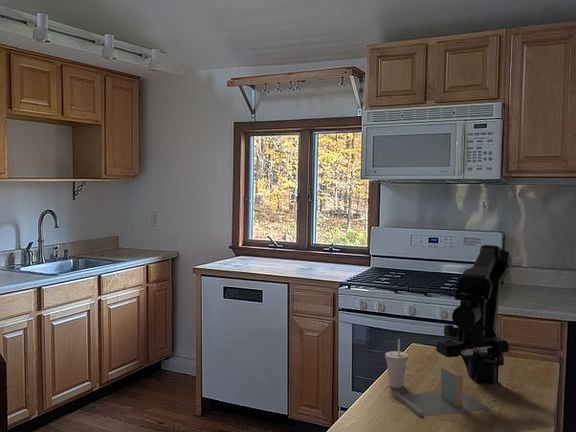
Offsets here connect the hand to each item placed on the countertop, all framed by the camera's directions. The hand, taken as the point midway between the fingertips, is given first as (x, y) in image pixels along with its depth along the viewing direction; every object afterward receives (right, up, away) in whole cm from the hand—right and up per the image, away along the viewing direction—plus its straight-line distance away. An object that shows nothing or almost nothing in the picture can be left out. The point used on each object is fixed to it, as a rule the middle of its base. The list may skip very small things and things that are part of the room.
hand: (471, 378), depth 153 cm
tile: (-6, -6, -1) cm, 8 cm away
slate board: (-9, -6, -2) cm, 11 cm away
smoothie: (-18, -6, +10) cm, 22 cm away
